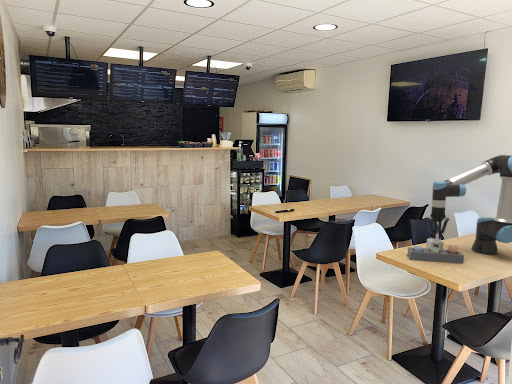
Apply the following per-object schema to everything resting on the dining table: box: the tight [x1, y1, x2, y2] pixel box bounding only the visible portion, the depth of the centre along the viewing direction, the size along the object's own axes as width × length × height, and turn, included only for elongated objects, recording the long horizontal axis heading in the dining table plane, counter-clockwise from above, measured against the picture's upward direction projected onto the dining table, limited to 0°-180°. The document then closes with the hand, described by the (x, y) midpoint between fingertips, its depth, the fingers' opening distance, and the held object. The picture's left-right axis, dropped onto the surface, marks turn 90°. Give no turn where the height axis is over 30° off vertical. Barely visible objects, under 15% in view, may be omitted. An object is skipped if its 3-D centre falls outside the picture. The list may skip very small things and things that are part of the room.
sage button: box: [431, 247, 439, 253], centre depth 236 cm, size 5×5×5 cm
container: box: [425, 231, 444, 250], centre depth 253 cm, size 8×8×13 cm
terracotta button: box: [447, 244, 458, 254], centre depth 234 cm, size 5×5×5 cm
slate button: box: [413, 245, 423, 252], centre depth 239 cm, size 5×5×5 cm
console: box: [407, 246, 465, 265], centre depth 237 cm, size 30×11×5 cm, turn 77°
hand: (436, 243), depth 236 cm, fingers closed
